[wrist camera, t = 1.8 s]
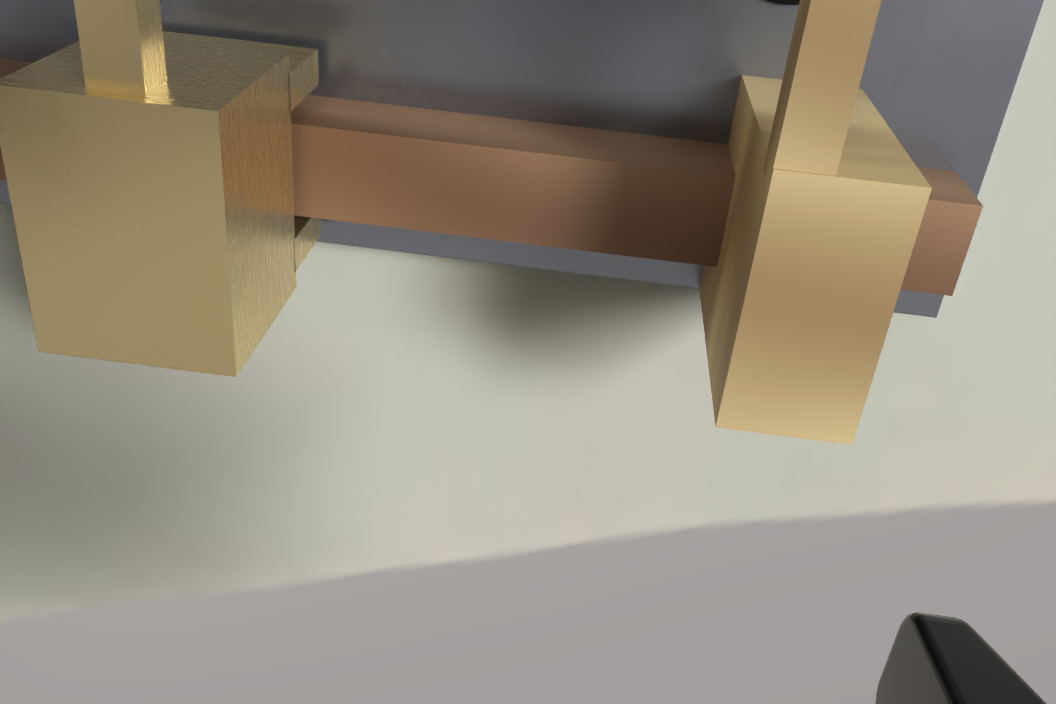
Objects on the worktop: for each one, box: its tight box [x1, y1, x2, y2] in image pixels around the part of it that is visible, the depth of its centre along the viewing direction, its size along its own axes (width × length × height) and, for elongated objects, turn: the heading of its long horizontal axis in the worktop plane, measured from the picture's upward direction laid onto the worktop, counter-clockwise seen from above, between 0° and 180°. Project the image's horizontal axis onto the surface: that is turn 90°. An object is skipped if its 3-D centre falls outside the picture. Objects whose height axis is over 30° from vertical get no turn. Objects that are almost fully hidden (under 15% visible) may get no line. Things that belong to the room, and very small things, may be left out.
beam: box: [0, 0, 983, 445], centre depth 15 cm, size 7×25×5 cm, turn 85°
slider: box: [0, 0, 321, 377], centre depth 15 cm, size 7×3×5 cm, turn 175°
